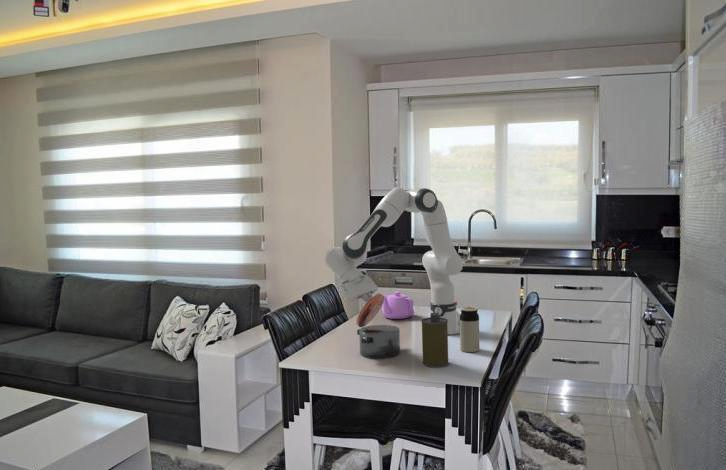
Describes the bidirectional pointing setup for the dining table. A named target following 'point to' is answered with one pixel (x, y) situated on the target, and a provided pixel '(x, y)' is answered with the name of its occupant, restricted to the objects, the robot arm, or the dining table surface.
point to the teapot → (397, 306)
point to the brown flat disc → (370, 310)
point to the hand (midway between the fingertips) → (372, 303)
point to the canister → (435, 341)
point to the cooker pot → (379, 341)
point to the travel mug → (469, 329)
